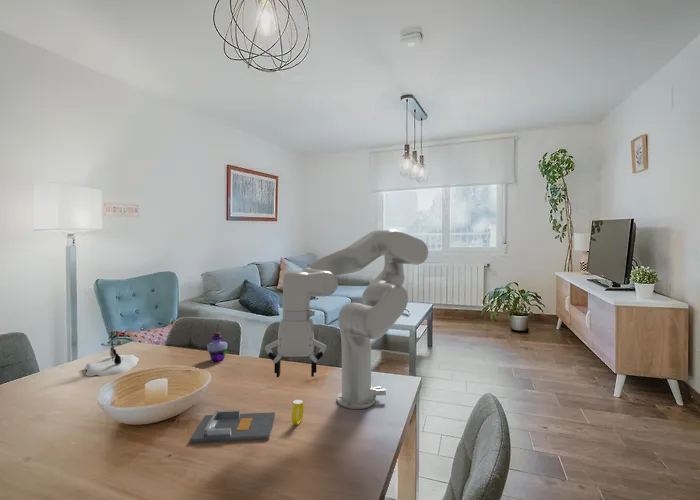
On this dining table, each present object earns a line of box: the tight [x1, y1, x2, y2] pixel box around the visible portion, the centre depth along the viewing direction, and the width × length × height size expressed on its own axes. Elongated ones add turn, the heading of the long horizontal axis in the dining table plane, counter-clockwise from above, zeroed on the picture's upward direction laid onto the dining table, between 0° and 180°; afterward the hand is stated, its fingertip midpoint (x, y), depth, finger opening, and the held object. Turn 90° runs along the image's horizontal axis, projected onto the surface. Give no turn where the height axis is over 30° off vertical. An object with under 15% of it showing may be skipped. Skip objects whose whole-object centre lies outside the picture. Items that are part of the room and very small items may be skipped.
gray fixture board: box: [189, 409, 276, 444], centre depth 97 cm, size 20×12×3 cm, turn 94°
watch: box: [291, 399, 305, 426], centre depth 101 cm, size 6×3×6 cm, turn 168°
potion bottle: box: [206, 331, 228, 363], centre depth 152 cm, size 9×9×12 cm
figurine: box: [85, 329, 140, 377], centre depth 144 cm, size 20×18×16 cm
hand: (295, 375), depth 100 cm, fingers open, 9 cm apart
